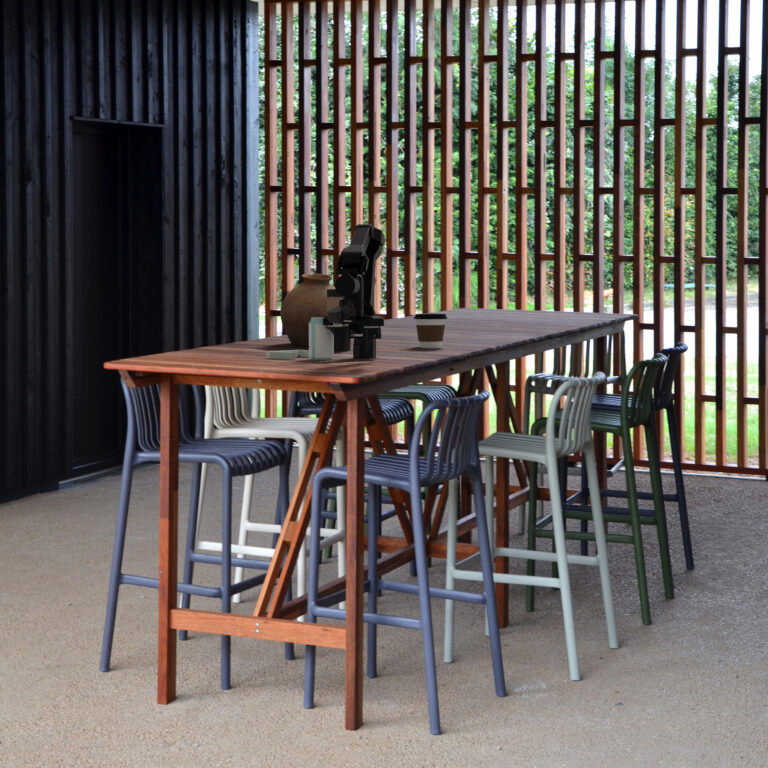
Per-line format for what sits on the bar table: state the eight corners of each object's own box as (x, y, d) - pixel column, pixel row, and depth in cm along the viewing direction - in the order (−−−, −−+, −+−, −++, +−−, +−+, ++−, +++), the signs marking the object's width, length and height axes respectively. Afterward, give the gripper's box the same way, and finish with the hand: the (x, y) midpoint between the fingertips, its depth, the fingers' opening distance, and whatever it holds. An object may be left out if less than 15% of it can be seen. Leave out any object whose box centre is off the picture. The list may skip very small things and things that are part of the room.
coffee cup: (444, 352, 402) (444, 314, 401) (410, 351, 404) (410, 314, 403) (449, 350, 412) (449, 313, 411) (416, 350, 415) (416, 313, 414)
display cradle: (298, 356, 377) (298, 349, 377) (323, 357, 370) (323, 351, 370) (266, 358, 367) (266, 351, 367) (291, 359, 360) (291, 352, 360)
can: (320, 358, 366) (320, 317, 365) (338, 359, 362) (338, 317, 361) (303, 359, 361) (303, 317, 360) (322, 360, 356) (321, 317, 355)
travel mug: (321, 353, 396) (321, 289, 394) (341, 352, 401) (340, 289, 399) (336, 354, 390) (336, 289, 388) (356, 353, 395) (356, 289, 393)
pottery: (309, 348, 428) (309, 274, 426) (365, 350, 415) (365, 273, 413) (266, 351, 409) (265, 273, 407) (323, 353, 396) (323, 273, 394)
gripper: (308, 296, 352) (308, 352, 353) (357, 296, 339) (357, 354, 341) (336, 295, 360) (336, 350, 361) (385, 295, 348) (385, 352, 349)
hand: (353, 352), depth 353 cm, fingers open, 9 cm apart
